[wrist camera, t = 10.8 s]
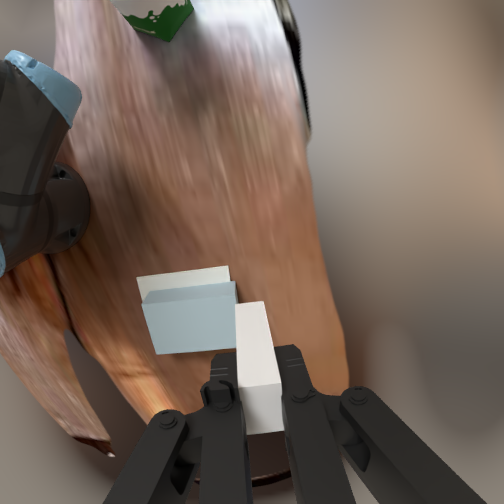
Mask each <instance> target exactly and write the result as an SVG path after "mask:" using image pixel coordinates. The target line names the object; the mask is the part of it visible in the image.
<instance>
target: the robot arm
mask: <svg viewBox="0 0 504 504" xmlns="http://www.w3.org/2000/svg"><path fill="white" fill-rule="evenodd" d="M81 100H82V94H81V91H80V89H79V87H78V86H77V85H76V84H74V83H73V82H72V81H70V80H69V79H67V78H66V77H64V76H63V75H61V74H60V73H58V72H57V71H55V70H53V69H52V68H50V67H48V66H46V65H45V64H43V63H41V62H37V60H35V59H33V58H31V57H29V56H28V55H26V54H24V53H22V52H19V51H16V50H12V51H11V52H10V53H9V54H8V55H6V57H5V59H4V61H2V60H0V277H1V276H2V275H3V274H5V273H6V272H8V271H9V270H11V269H12V268H14V267H16V266H17V265H19V264H20V263H22V262H24V261H25V260H27V259H29V258H30V257H32V256H34V255H35V254H37V253H47V254H54V253H59V252H62V251H65V250H66V249H68V248H70V247H72V246H73V245H74V244H76V243H77V242H78V241H79V240H80V238H81V237H82V236H83V234H84V232H85V230H86V228H87V225H88V221H89V216H90V201H89V195H88V191H87V188H86V186H85V184H84V182H83V180H82V178H81V177H80V175H79V174H78V173H77V172H76V171H75V170H74V169H73V168H72V167H70V166H68V165H67V164H64V163H61V162H55V161H56V158H57V156H58V153H59V151H60V148H61V146H62V144H63V141H64V139H65V137H66V134H67V132H68V130H69V129H71V128H72V125H73V123H72V122H73V119H74V117H75V115H76V112H77V110H78V108H79V106H80V103H81ZM235 321H236V349H237V352H233V353H223V354H216V355H215V357H214V358H213V359H212V361H211V371H210V381H208V382H206V383H205V384H204V385H203V386H202V388H201V390H200V392H201V396H202V400H203V403H204V407H203V408H202V409H200V410H199V411H196V412H194V413H190V414H187V415H183V414H182V413H181V412H180V411H177V410H168V409H167V410H164V411H160V412H159V413H157V414H155V415H154V416H153V418H152V419H151V421H150V422H149V424H148V426H147V427H146V429H145V431H144V433H143V435H142V436H141V438H140V440H139V441H138V443H137V445H136V447H135V448H134V450H133V452H132V454H131V455H130V457H129V459H128V461H127V462H126V464H125V466H124V467H123V469H122V471H121V473H120V474H119V476H118V478H117V480H116V482H115V483H114V485H113V487H112V488H111V490H110V492H109V494H108V495H107V497H106V499H105V501H104V502H103V504H185V502H186V500H187V497H188V494H189V492H190V489H191V486H192V484H193V482H194V479H195V476H196V474H197V471H198V468H199V466H200V462H201V470H200V490H199V504H253V494H252V483H251V471H250V459H249V447H248V441H247V435H248V434H258V433H267V432H275V431H282V430H284V431H285V446H286V451H287V452H288V458H289V462H290V468H291V474H292V479H293V484H294V490H295V495H296V500H297V504H356V502H355V499H354V496H353V493H352V490H351V486H350V484H349V480H348V478H347V475H346V472H345V469H344V466H343V463H342V460H341V457H340V454H339V451H338V449H339V450H340V452H341V453H342V454H343V456H344V457H345V458H346V460H347V461H348V463H349V464H350V465H351V467H352V468H353V469H354V471H355V472H356V473H357V475H358V476H359V477H360V479H361V480H362V481H363V483H364V484H365V485H366V487H367V488H368V489H369V491H370V492H371V493H372V495H373V496H374V497H375V499H376V500H377V501H378V502H379V504H487V503H486V502H485V501H484V500H483V499H482V498H481V497H480V496H479V495H478V494H476V493H475V492H474V491H473V490H472V489H471V488H470V487H469V486H468V485H467V484H466V483H465V482H464V481H463V480H462V479H461V478H460V477H459V476H458V475H457V474H456V473H455V472H454V471H453V470H452V469H451V468H450V467H449V466H448V465H447V464H446V463H445V462H444V461H443V460H442V459H441V458H440V457H438V455H436V453H435V452H433V451H432V450H431V449H430V448H429V447H428V446H427V445H426V444H425V443H424V442H423V441H422V440H421V439H420V438H419V437H418V436H417V435H416V434H415V433H414V432H413V431H412V430H411V429H410V428H409V427H408V426H407V425H406V424H405V423H404V422H403V421H402V420H401V419H400V418H399V417H398V416H397V415H396V414H395V413H394V412H393V411H392V410H391V409H390V408H389V407H388V406H387V405H386V404H385V403H384V402H383V401H382V400H381V399H380V398H379V397H378V396H377V395H376V394H375V393H374V392H373V391H372V390H370V389H368V388H366V387H362V386H355V387H351V388H348V389H346V390H345V391H344V392H343V393H342V394H341V396H331V395H325V394H322V393H320V392H318V391H317V390H316V389H315V388H314V387H313V385H312V383H311V380H310V377H309V374H308V371H307V368H306V365H305V362H304V359H303V357H302V354H301V351H300V349H298V348H297V347H296V346H295V345H294V344H292V345H285V346H278V347H273V343H272V338H271V334H270V329H269V325H268V320H267V315H266V311H265V306H264V302H263V301H259V302H250V303H242V304H235Z"/></svg>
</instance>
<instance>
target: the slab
mask: <svg viewBox="0 0 504 504" xmlns="http://www.w3.org/2000/svg"><path fill="white" fill-rule="evenodd" d="M235 304H239V303H238V296H237V290H236V284H235V281H230V282H222V283H214V284H206V285H198V286H189V287H181V288H172V289H164V290H155V291H149V293H148V295H147V296H146V298H145V299H144V301H143V303H142V304H141V305H142V308H143V312H144V315H145V319H146V322H147V326H148V329H149V332H150V335H151V339H152V342H153V345H154V348H155V351H156V354H171V353H184V352H197V351H208V350H218V349H227V348H236V321H235Z"/></svg>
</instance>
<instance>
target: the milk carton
mask: <svg viewBox="0 0 504 504" xmlns="http://www.w3.org/2000/svg"><path fill="white" fill-rule="evenodd" d="M110 1H111V3H112V4H113V5H114V6H115V7H116V8H117V9H118V11H119V12H120V13H121V14H122V15H123V16H124V18H125V19H126V20H127V21H128V22H129V24H130V25H131V26H132V27H133V29H134V30H137V31H140V32H143V33H146V34H148V35H151V36H154V37H157V38H159V39H162V40H165V41H167V42H170V40H171V39H172V38H173V36H174V35H175V33H176V32H177V31H178V29H179V28H180V26H181V25H182V24H183V22H184V21H185V20H186V18H187V17H188V16H189V14H190V13H191V12H192V10H193V9H194V8H193V6H192V4H191V2H190V0H110Z"/></svg>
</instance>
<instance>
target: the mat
mask: <svg viewBox="0 0 504 504" xmlns="http://www.w3.org/2000/svg"><path fill="white" fill-rule="evenodd" d="M137 282H138V286H139V290H140V294H141V298H142V301H144V299H145V298H146V296H147V295H148V293H149V291H155V290H164V289H172V288H181V287H189V286H198V285H206V284H214V283H222V282H230V275H229V268H228V266H220V267H213V268H205V269H197V270H189V271H181V272H173V273H165V274H157V275H149V276H141V277H137Z"/></svg>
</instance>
